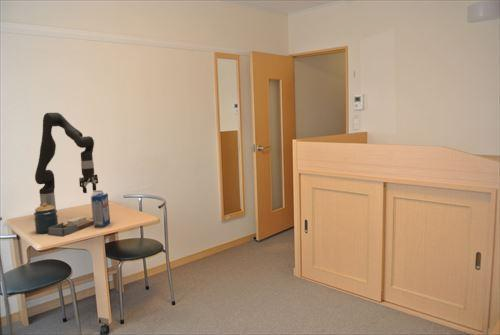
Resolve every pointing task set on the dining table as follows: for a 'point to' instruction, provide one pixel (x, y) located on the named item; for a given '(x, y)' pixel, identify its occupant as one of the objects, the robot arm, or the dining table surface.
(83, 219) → the tile
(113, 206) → the dining table surface
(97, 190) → the milk carton
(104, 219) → the milk carton
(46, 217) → the canister
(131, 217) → the dining table surface
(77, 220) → the tile
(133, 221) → the dining table surface
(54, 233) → the tray
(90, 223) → the board
